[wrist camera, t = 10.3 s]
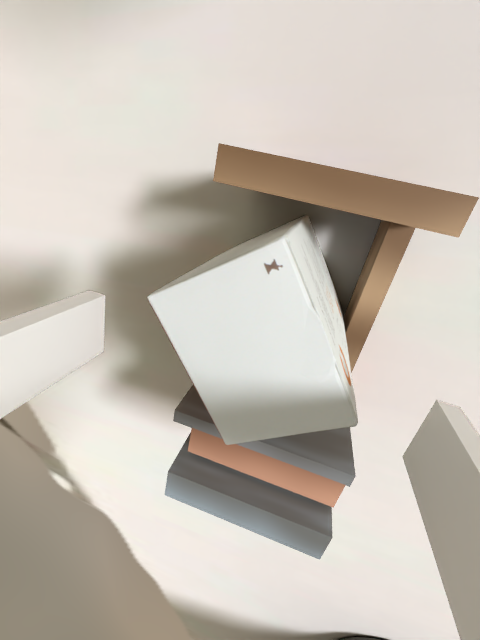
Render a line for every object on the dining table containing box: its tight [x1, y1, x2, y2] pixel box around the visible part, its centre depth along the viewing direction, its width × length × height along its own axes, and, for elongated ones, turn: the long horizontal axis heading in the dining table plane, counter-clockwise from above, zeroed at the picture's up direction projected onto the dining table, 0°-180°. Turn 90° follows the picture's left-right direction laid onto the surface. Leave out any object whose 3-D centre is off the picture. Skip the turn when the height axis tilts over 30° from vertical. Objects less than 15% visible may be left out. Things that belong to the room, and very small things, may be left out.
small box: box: [147, 215, 358, 445], centre depth 17 cm, size 8×6×13 cm
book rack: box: [165, 144, 479, 559], centre depth 19 cm, size 19×10×12 cm, turn 168°
